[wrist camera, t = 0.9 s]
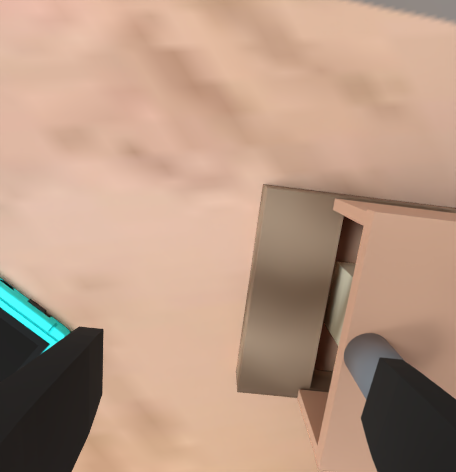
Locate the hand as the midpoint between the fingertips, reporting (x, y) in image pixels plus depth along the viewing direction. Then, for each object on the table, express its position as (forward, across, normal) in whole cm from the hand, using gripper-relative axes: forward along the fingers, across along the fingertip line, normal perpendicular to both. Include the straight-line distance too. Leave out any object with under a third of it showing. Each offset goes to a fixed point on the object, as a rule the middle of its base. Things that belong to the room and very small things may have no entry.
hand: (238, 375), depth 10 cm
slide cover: (+10, -8, +3) cm, 13 cm away
